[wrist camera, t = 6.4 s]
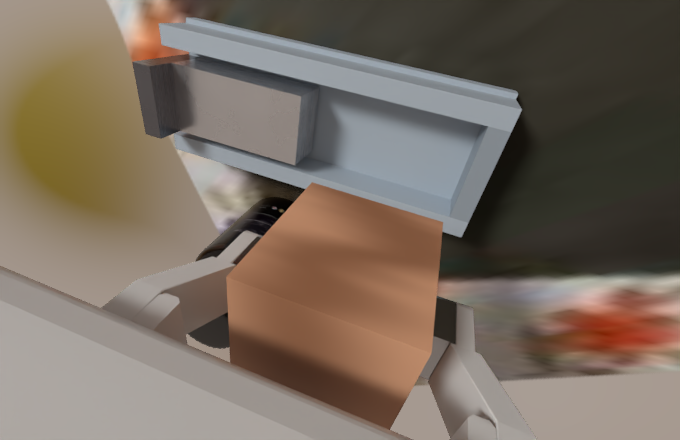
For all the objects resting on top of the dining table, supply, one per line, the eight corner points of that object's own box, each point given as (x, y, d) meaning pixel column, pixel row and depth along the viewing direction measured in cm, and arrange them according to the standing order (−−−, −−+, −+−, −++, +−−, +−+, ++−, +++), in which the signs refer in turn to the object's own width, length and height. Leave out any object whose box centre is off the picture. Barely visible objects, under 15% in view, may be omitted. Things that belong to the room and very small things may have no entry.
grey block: (319, 87, 22) (287, 103, 18) (312, 150, 24) (282, 176, 20) (187, 54, 23) (132, 61, 19) (193, 116, 26) (145, 134, 22)
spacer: (443, 222, 10) (431, 353, 6) (404, 314, 13) (378, 449, 9) (312, 182, 11) (226, 276, 7) (299, 276, 14) (231, 386, 10)
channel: (516, 90, 19) (524, 103, 16) (460, 215, 24) (459, 241, 22) (195, 17, 23) (158, 17, 20) (205, 138, 28) (176, 152, 25)
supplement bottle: (308, 267, 32) (241, 374, 23) (247, 237, 33) (157, 330, 23) (328, 214, 28) (256, 317, 19) (258, 181, 29) (154, 265, 19)
